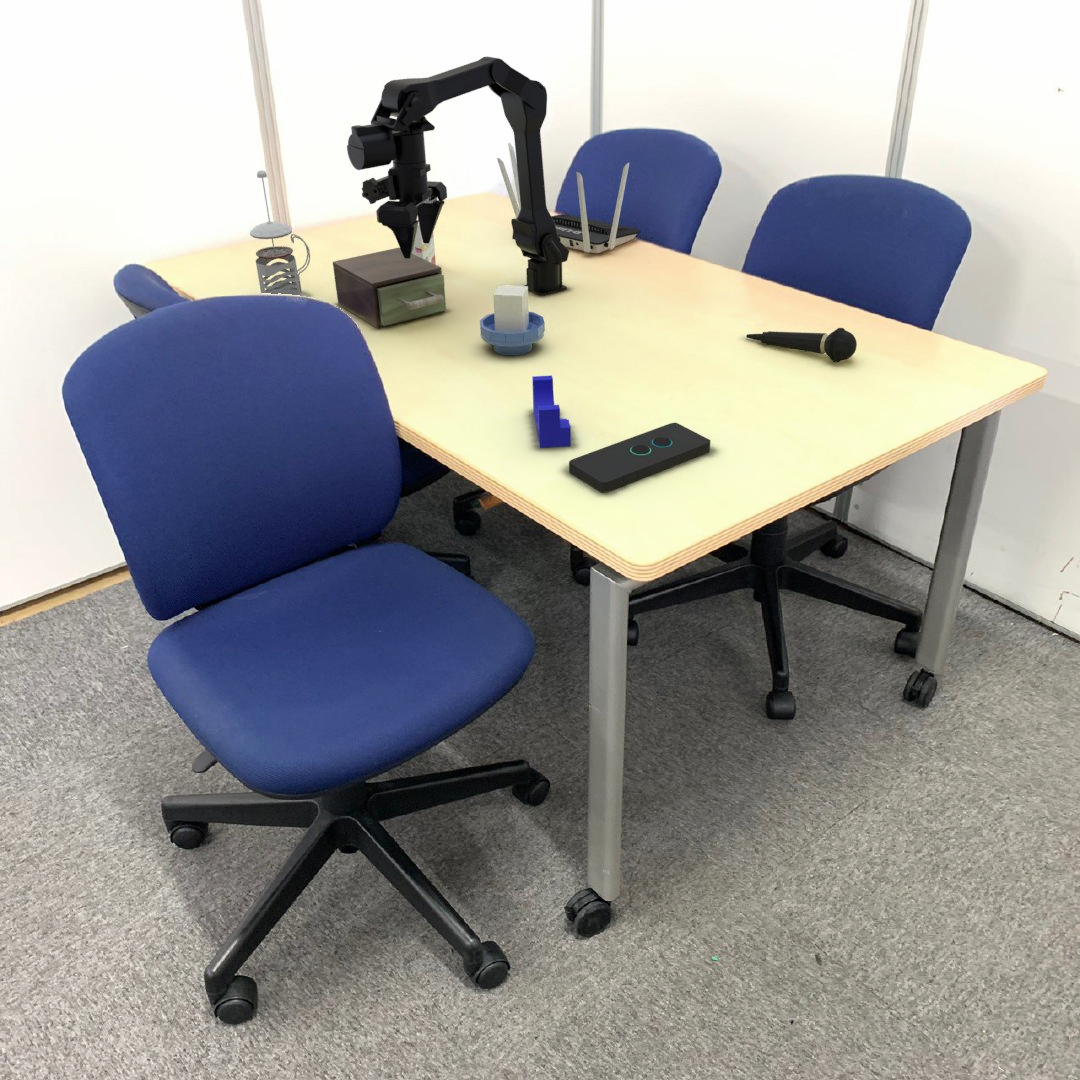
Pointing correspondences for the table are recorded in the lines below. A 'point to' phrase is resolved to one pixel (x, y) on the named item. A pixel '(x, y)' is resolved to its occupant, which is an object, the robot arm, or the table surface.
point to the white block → (511, 308)
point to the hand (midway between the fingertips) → (417, 250)
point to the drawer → (411, 298)
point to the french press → (277, 257)
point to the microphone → (813, 342)
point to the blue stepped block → (548, 415)
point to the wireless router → (579, 229)
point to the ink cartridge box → (424, 247)
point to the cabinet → (375, 280)
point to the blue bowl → (512, 335)
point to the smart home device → (638, 457)
